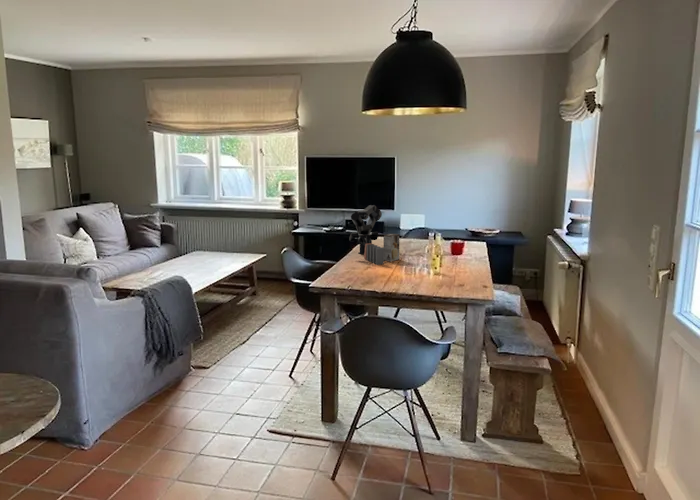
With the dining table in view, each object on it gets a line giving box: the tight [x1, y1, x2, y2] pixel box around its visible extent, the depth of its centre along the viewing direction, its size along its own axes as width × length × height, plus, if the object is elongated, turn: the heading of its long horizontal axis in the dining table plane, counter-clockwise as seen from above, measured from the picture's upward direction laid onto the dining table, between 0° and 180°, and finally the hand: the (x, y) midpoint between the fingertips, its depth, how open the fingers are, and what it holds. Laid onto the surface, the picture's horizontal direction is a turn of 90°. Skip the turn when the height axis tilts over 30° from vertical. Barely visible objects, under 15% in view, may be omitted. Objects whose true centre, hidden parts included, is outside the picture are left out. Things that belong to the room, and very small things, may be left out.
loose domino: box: [363, 242, 373, 260], centre depth 340 cm, size 2×4×10 cm, turn 112°
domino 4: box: [375, 246, 385, 266], centre depth 325 cm, size 2×4×10 cm, turn 112°
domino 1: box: [366, 243, 375, 262], centre depth 337 cm, size 2×4×10 cm, turn 112°
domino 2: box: [369, 244, 378, 263], centre depth 333 cm, size 2×4×10 cm, turn 112°
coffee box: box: [383, 233, 400, 262], centre depth 337 cm, size 9×6×16 cm
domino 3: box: [372, 245, 381, 264], centre depth 329 cm, size 2×4×10 cm, turn 112°
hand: (367, 247), depth 340 cm, fingers closed
